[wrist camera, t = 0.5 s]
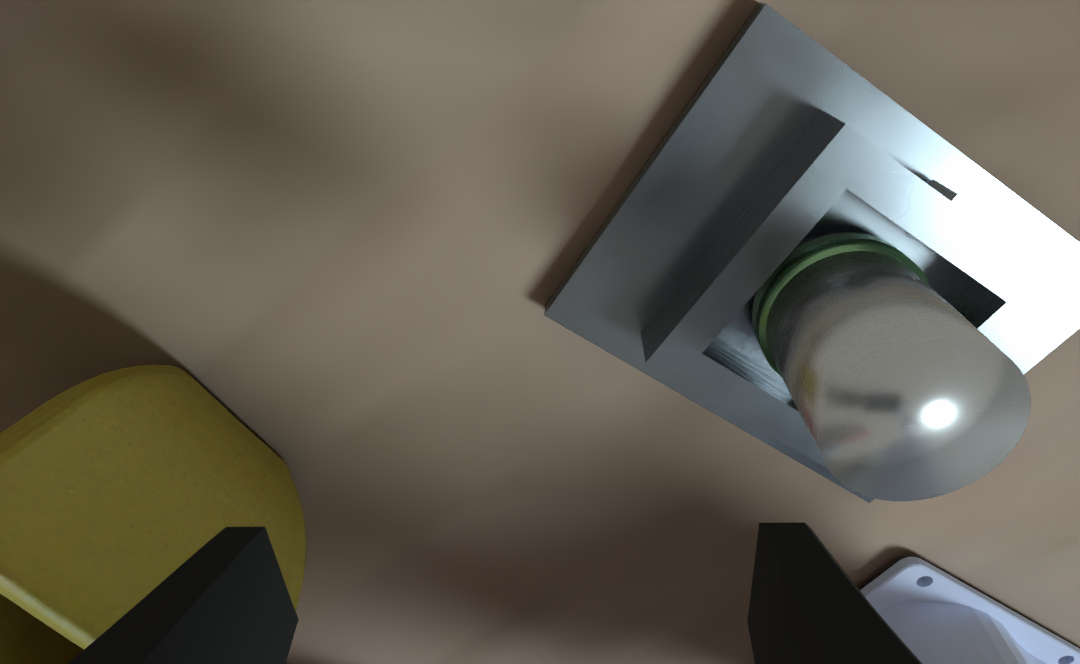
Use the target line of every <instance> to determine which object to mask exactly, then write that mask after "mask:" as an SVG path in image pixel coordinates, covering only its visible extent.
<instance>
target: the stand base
mask: <svg viewBox="0 0 1080 664" xmlns="http://www.w3.org/2000/svg"><path fill="white" fill-rule="evenodd" d="M843 231H846V232H855V233H861V234H868V235H872V236H876V237H878V238H881V239H883V240H886V241H888V242H889V243H891V244H893V245H894V246H896V247H897V248H898V249H899V250H900V251H902V252H903V253H904V254H905V255H906V256H907V257H909V258H910V259H911V260H912V261H913V262H914V263H915V264H916V265H917V266H918V267H919V268H920V269H921V270H922V271H923V273H924V275H925V276H926V278H927V280H928V282H929V285H930V287H931V288H933V289H934V290H935V291H936V292H937V293H938V294H939V295H940V296H941V297H943V298H944V299H945V300H946V301H947V302H948V303H949V304H950V305H951V306H952V307H954V308H955V309H956V310H957V311H958V312H959V313H960V314H961V315H962V316H964V317H965V318H966V319H967V320H968V321H969V322H970V323H971V324H972V325H973V326H975V327H976V328H977V329H978V330H979V331H980V332H981V333H982V334H983V335H985V336H986V337H987V338H988V339H989V340H990V341H991V342H992V343H993V344H995V345H996V346H997V347H998V348H999V349H1000V350H1001V351H1002V352H1003V353H1004V354H1006V355H1007V356H1008V357H1009V358H1010V359H1011V360H1012V361H1013V362H1014V363H1015V364H1016V365H1017V366H1018V367H1019V369H1020V370H1021V371H1022V373H1023V375H1024V374H1025V373H1026V372H1027V371H1028V370H1030V369H1031V368H1032V367H1033V366H1034V365H1036V364H1037V363H1038V362H1039V361H1040V360H1042V359H1043V358H1044V357H1045V356H1046V355H1048V354H1049V353H1050V352H1051V351H1052V350H1054V349H1055V348H1056V347H1057V346H1058V345H1060V344H1061V343H1062V342H1063V341H1064V340H1066V339H1067V338H1068V337H1069V336H1070V335H1072V334H1073V333H1074V332H1075V331H1076V330H1078V329H1079V328H1080V242H1078V241H1077V240H1076V239H1074V238H1073V237H1072V236H1070V235H1069V234H1068V233H1066V232H1065V231H1064V230H1063V229H1061V228H1060V227H1059V226H1057V225H1056V224H1055V223H1053V222H1052V221H1051V220H1049V219H1048V218H1047V217H1045V216H1044V215H1043V214H1042V213H1040V212H1039V211H1038V210H1036V209H1035V208H1034V207H1032V206H1031V205H1030V204H1028V203H1027V202H1026V201H1024V200H1023V199H1022V198H1021V197H1019V196H1018V195H1017V194H1015V193H1014V192H1013V191H1011V190H1010V189H1009V188H1007V187H1006V186H1005V185H1003V184H1002V183H1001V182H999V181H998V180H997V179H996V178H994V177H993V176H992V175H990V174H989V173H988V172H986V171H985V170H984V169H982V168H981V167H980V166H978V165H977V164H976V163H975V162H973V161H972V160H971V159H969V158H968V157H967V156H965V155H964V154H963V153H961V152H960V151H959V150H957V149H956V148H955V147H953V146H952V145H951V144H950V143H948V142H947V141H946V140H944V139H943V138H942V137H940V136H939V135H938V134H936V133H935V132H934V131H932V130H931V129H930V128H929V127H927V126H926V125H925V124H923V123H922V122H921V121H919V120H918V119H917V118H915V117H914V116H913V115H911V114H910V113H909V112H907V111H906V110H905V109H904V108H902V107H901V106H900V105H898V104H897V103H896V102H894V101H893V100H892V99H890V98H889V97H888V96H886V95H885V94H884V93H883V92H881V91H880V90H879V89H877V88H876V87H875V86H873V85H872V84H871V83H869V82H868V81H867V80H865V79H864V78H863V77H861V76H860V75H859V74H858V73H856V72H855V71H854V70H852V69H851V68H850V67H848V66H847V65H846V64H844V63H843V62H842V61H840V60H839V59H838V58H837V57H835V56H834V55H833V54H831V53H830V52H829V51H827V50H826V49H825V48H823V47H822V46H821V45H819V44H818V43H817V42H815V41H814V40H813V39H812V38H810V37H809V36H808V35H806V34H805V33H804V32H802V31H801V30H800V29H798V28H797V27H796V26H794V25H793V24H792V23H791V22H789V21H788V20H787V19H785V18H784V17H783V16H781V15H780V14H779V13H777V12H776V11H775V10H773V9H772V8H771V7H769V6H768V5H767V4H764V3H759V4H758V6H757V7H756V8H755V10H754V11H753V13H752V14H751V15H750V17H749V18H748V20H747V21H746V23H745V24H744V25H743V27H742V28H741V30H740V31H739V32H738V34H737V35H736V37H735V38H734V40H733V41H732V42H731V44H730V45H729V47H728V48H727V49H726V51H725V52H724V54H723V55H722V56H721V58H720V59H719V61H718V62H717V64H716V65H715V66H714V68H713V69H712V71H711V72H710V73H709V75H708V76H707V78H706V79H705V81H704V82H703V83H702V85H701V86H700V88H699V89H698V90H697V92H696V93H695V95H694V96H693V97H692V99H691V100H690V102H689V103H688V105H687V106H686V107H685V109H684V110H683V112H682V113H681V114H680V116H679V117H678V119H677V120H676V122H675V123H674V124H673V126H672V127H671V129H670V130H669V131H668V133H667V134H666V136H665V137H664V138H663V140H662V141H661V143H660V144H659V146H658V147H657V148H656V150H655V151H654V153H653V154H652V155H651V157H650V158H649V160H648V161H647V163H646V164H645V165H644V167H643V168H642V170H641V171H640V172H639V174H638V175H637V177H636V178H635V179H634V181H633V182H632V184H631V185H630V187H629V188H628V189H627V191H626V192H625V194H624V195H623V196H622V198H621V199H620V201H619V202H618V204H617V205H616V206H615V208H614V209H613V211H612V212H611V213H610V215H609V216H608V218H607V219H606V220H605V222H604V223H603V225H602V226H601V228H600V229H599V230H598V232H597V233H596V235H595V236H594V237H593V239H592V240H591V242H590V243H589V245H588V246H587V247H586V249H585V250H584V252H583V253H582V254H581V256H580V257H579V259H578V260H577V262H576V263H575V264H574V266H573V267H572V269H571V270H570V271H569V273H568V274H567V276H566V277H565V278H564V280H563V281H562V283H561V284H560V286H559V287H558V288H557V290H556V291H555V293H554V294H553V295H552V297H551V298H550V300H549V301H548V303H547V304H546V305H545V314H544V315H545V316H547V317H548V318H550V319H552V320H553V321H555V322H557V323H559V324H560V325H562V326H564V327H566V328H567V329H569V330H571V331H573V332H574V333H576V334H578V335H579V336H581V337H583V338H585V339H586V340H588V341H590V342H592V343H593V344H595V345H597V346H599V347H600V348H602V349H604V350H605V351H607V352H609V353H611V354H612V355H614V356H616V357H618V358H619V359H621V360H623V361H625V362H626V363H628V364H630V365H631V366H633V367H635V368H637V369H638V370H640V371H642V372H644V373H645V374H647V375H649V376H650V377H652V378H654V379H656V380H657V381H659V382H661V383H663V384H664V385H666V386H668V387H670V388H671V389H673V390H675V391H676V392H678V393H680V394H682V395H683V396H685V397H687V398H689V399H690V400H692V401H694V402H696V403H697V404H699V405H701V406H702V407H704V408H706V409H708V410H709V411H711V412H713V413H715V414H716V415H718V416H720V417H722V418H723V419H725V420H727V421H728V422H730V423H732V424H734V425H735V426H737V427H739V428H741V429H742V430H744V431H746V432H747V433H749V434H751V435H753V436H754V437H756V438H758V439H760V440H761V441H763V442H765V443H767V444H768V445H770V446H772V447H773V448H775V449H777V450H779V451H780V452H782V453H784V454H786V455H787V456H789V457H791V458H793V459H794V460H796V461H798V462H799V463H801V464H803V465H805V466H806V467H808V468H810V469H812V470H813V471H815V472H817V473H819V474H820V475H822V476H824V477H825V478H827V479H829V480H831V481H832V482H834V483H836V484H838V485H839V486H841V487H843V488H845V489H846V490H848V491H850V492H851V493H853V494H855V495H857V496H858V497H860V498H862V499H864V500H865V501H867V502H869V503H870V502H871V501H872V500H874V499H875V498H871V497H868V496H865V495H862V494H859V493H857V492H855V491H853V490H851V489H849V488H848V487H846V486H845V485H843V484H842V483H840V482H839V481H838V480H837V479H836V478H835V477H834V476H833V475H832V474H831V472H830V471H829V470H828V469H827V467H826V465H825V463H824V461H823V459H822V457H821V455H820V453H819V451H818V449H817V447H816V445H815V443H814V441H813V439H812V437H811V435H810V433H809V431H808V429H807V427H806V425H805V423H804V421H803V419H802V417H801V415H800V413H799V411H798V409H797V407H796V405H795V403H794V401H793V399H792V397H791V395H790V393H789V390H788V388H787V386H786V384H785V382H784V380H783V378H782V377H781V376H780V375H779V374H778V373H777V372H776V371H774V370H773V368H772V367H771V366H770V364H769V363H768V361H767V360H766V358H765V356H764V354H763V352H762V350H761V348H760V345H759V343H758V341H757V339H756V336H755V333H754V330H753V324H752V311H753V304H754V298H755V294H756V291H757V290H758V289H759V288H760V287H761V286H762V285H763V283H764V282H765V281H766V280H767V279H768V278H769V277H770V276H771V274H772V273H773V272H774V271H775V270H776V269H777V268H778V266H779V265H780V264H781V263H782V262H783V261H784V260H785V259H786V257H787V256H788V255H789V254H790V253H791V252H792V251H793V249H794V248H795V247H796V246H797V245H798V244H799V243H800V242H801V241H802V240H804V239H807V238H810V237H812V236H815V235H819V234H823V233H829V232H843Z"/></svg>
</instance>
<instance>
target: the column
mask: <svg viewBox="0 0 1080 664" xmlns="http://www.w3.org/2000/svg"><path fill="white" fill-rule="evenodd" d="M752 324H753V330H754V333H755V336H756V339H757V341H758V343H759V345H760V348H761V350H762V352H763V354H764V356H765V358H766V360H767V361H768V363H769V364H770V366H771V367H772V368H773V370H774V371H776V372H777V373H778V374H779V375H780V376H781V377H782V378H783V380H784V382H785V384H786V386H787V388H788V390H789V393H790V395H791V397H792V399H793V401H794V403H795V405H796V407H797V409H798V411H799V413H800V415H801V417H802V419H803V421H804V423H805V425H806V427H807V429H808V431H809V433H810V435H811V437H812V439H813V441H814V443H815V445H816V447H817V449H818V451H819V453H820V455H821V457H822V459H823V461H824V463H825V465H826V467H827V469H828V470H829V471H830V472H831V474H832V475H833V476H834V477H835V478H836V479H837V480H838V481H839V482H840V483H842V484H843V485H845V486H846V487H848V488H849V489H851V490H853V491H855V492H857V493H859V494H862V495H865V496H868V497H871V498H876V499H881V500H889V501H913V500H922V499H928V498H933V497H937V496H940V495H944V494H947V493H950V492H953V491H955V490H958V489H960V488H962V487H964V486H967V485H969V484H971V483H972V482H974V481H976V480H978V479H979V478H981V477H982V476H984V475H985V474H987V473H988V472H990V471H991V470H992V469H994V468H995V467H996V466H997V465H998V464H999V463H1000V462H1002V461H1003V460H1004V459H1005V457H1006V456H1007V455H1008V454H1009V453H1010V452H1011V451H1012V449H1013V448H1014V447H1015V445H1016V444H1017V443H1018V441H1019V439H1020V438H1021V436H1022V434H1023V432H1024V430H1025V427H1026V425H1027V422H1028V419H1029V414H1030V408H1031V396H1030V389H1029V386H1028V383H1027V380H1026V378H1025V376H1024V375H1023V373H1022V371H1021V370H1020V369H1019V367H1018V366H1017V365H1016V364H1015V363H1014V362H1013V361H1012V360H1011V359H1010V358H1009V357H1008V356H1007V355H1006V354H1004V353H1003V352H1002V351H1001V350H1000V349H999V348H998V347H997V346H996V345H995V344H993V343H992V342H991V341H990V340H989V339H988V338H987V337H986V336H985V335H983V334H982V333H981V332H980V331H979V330H978V329H977V328H976V327H975V326H973V325H972V324H971V323H970V322H969V321H968V320H967V319H966V318H965V317H964V316H962V315H961V314H960V313H959V312H958V311H957V310H956V309H955V308H954V307H952V306H951V305H950V304H949V303H948V302H947V301H946V300H945V299H944V298H943V297H941V296H940V295H939V294H938V293H937V292H936V291H935V290H934V289H933V288H931V287H930V285H929V282H928V280H927V278H926V276H925V275H924V273H923V271H922V270H921V269H920V268H919V267H918V266H917V265H916V264H915V263H914V262H913V261H912V260H911V259H910V258H909V257H907V256H906V255H905V254H904V253H903V252H902V251H900V250H899V249H898V248H897V247H896V246H894V245H893V244H891V243H889V242H888V241H886V240H883V239H881V238H878V237H876V236H872V235H868V234H861V233H855V232H846V231H843V232H829V233H823V234H819V235H815V236H812V237H810V238H807V239H804V240H802V241H801V242H800V243H799V244H798V245H797V246H796V247H795V248H794V249H793V251H792V252H791V253H790V254H789V255H788V256H787V257H786V259H785V260H784V261H783V262H782V263H781V264H780V265H779V266H778V268H777V269H776V270H775V271H774V272H773V273H772V274H771V276H770V277H769V278H768V279H767V280H766V281H765V282H764V283H763V285H762V286H761V287H760V288H759V289H758V290H757V291H756V294H755V298H754V304H753V311H752Z"/></svg>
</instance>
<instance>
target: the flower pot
mask: <svg viewBox="0 0 1080 664" xmlns="http://www.w3.org/2000/svg"><path fill="white" fill-rule="evenodd" d="M263 526H265V528H266V531H267V533H268V536H269V539H270V542H271V545H272V547H273V550H274V553H275V556H276V559H277V561H278V564H279V567H280V570H281V573H282V575H283V578H284V581H285V584H286V587H287V589H288V592H289V595H290V598H291V601H292V603H293V606H294V609H295V612H296V609H297V605H298V601H299V596H300V592H301V587H302V583H303V577H304V569H305V558H306V532H305V522H304V516H303V510H302V506H301V502H300V498H299V495H298V492H297V489H296V486H295V483H294V481H293V479H292V476H291V473H290V471H289V468H288V467H287V465H286V463H285V462H284V461H283V460H282V459H281V458H280V457H279V456H278V455H277V454H275V453H274V452H273V451H272V450H271V449H270V448H269V447H268V446H267V445H265V444H264V443H263V442H262V441H261V440H260V439H259V438H257V437H256V436H255V435H254V434H253V433H252V432H251V431H250V430H249V429H248V428H246V427H245V426H244V425H243V424H242V423H241V422H240V421H239V420H237V419H236V418H235V417H234V416H233V415H232V414H231V413H230V412H229V411H228V410H227V409H226V408H225V407H224V406H223V405H222V404H221V403H219V402H218V401H217V400H216V399H215V398H214V397H213V396H212V395H211V394H209V393H208V392H207V391H206V390H205V389H204V388H203V387H202V386H201V385H200V384H199V383H198V382H197V381H196V380H195V379H193V378H192V377H191V376H190V375H189V374H188V373H186V372H185V371H184V370H182V369H181V368H179V367H176V366H172V365H140V366H133V367H127V368H121V369H117V370H114V371H110V372H107V373H104V374H101V375H98V376H96V377H93V378H91V379H88V380H86V381H83V382H81V383H79V384H77V385H75V386H73V387H71V388H69V389H67V390H65V391H64V392H62V393H60V394H58V395H57V396H55V397H53V398H52V399H50V400H48V401H47V402H45V403H44V404H42V405H41V406H39V407H38V408H36V409H35V410H33V411H32V412H31V413H29V414H28V415H26V416H25V417H23V418H22V419H20V420H19V421H17V422H16V423H14V424H13V425H11V426H10V427H9V428H7V429H6V430H4V431H3V432H1V433H0V664H67V663H68V662H70V661H71V660H72V659H73V658H75V657H76V656H77V655H78V654H79V653H81V652H82V651H83V650H84V649H85V648H87V647H88V646H89V645H90V644H91V643H92V642H94V641H95V640H96V639H97V638H98V637H99V636H101V635H102V634H103V633H104V632H105V631H106V630H107V629H109V628H110V627H111V626H112V625H113V624H114V623H116V622H117V621H118V620H119V619H120V618H121V617H122V616H124V615H125V614H126V613H127V612H128V611H129V610H131V609H132V608H133V607H134V606H135V605H136V604H137V603H139V602H140V601H141V600H142V599H143V598H144V597H146V596H147V595H148V594H149V593H150V592H151V591H152V590H153V589H155V588H156V587H157V586H158V585H159V584H160V583H161V582H163V581H164V580H165V579H166V578H167V577H168V576H169V575H171V574H172V573H173V572H174V571H175V570H176V569H177V568H178V567H180V566H181V565H182V564H183V563H184V562H185V561H186V560H188V559H189V558H190V557H191V556H192V555H193V554H194V553H196V552H197V551H198V550H199V549H200V548H201V547H203V546H204V545H205V544H206V543H207V542H208V541H210V540H211V539H212V538H213V537H214V536H216V535H217V534H218V533H219V532H220V531H222V530H223V529H224V528H225V527H263Z"/></svg>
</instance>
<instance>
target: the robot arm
mask: <svg viewBox="0 0 1080 664" xmlns="http://www.w3.org/2000/svg"><path fill="white" fill-rule="evenodd" d="M297 622H298V617H297V615H296V612H295V609H294V606H293V603H292V601H291V598H290V595H289V592H288V589H287V587H286V584H285V581H284V578H283V575H282V573H281V570H280V567H279V564H278V561H277V559H276V556H275V553H274V550H273V547H272V545H271V542H270V539H269V536H268V533H267V531H266V528H265V526H263V527H225V528H224V529H223V530H222V531H220V532H219V533H218V534H217V535H216V536H214V537H213V538H212V539H211V540H210V541H208V542H207V543H206V544H205V545H204V546H203V547H201V548H200V549H199V550H198V551H197V552H196V553H194V554H193V555H192V556H191V557H190V558H189V559H188V560H186V561H185V562H184V563H183V564H182V565H181V566H180V567H178V568H177V569H176V570H175V571H174V572H173V573H172V574H171V575H169V576H168V577H167V578H166V579H165V580H164V581H163V582H161V583H160V584H159V585H158V586H157V587H156V588H155V589H153V590H152V591H151V592H150V593H149V594H148V595H147V596H146V597H144V598H143V599H142V600H141V601H140V602H139V603H137V604H136V605H135V606H134V607H133V608H132V609H131V610H129V611H128V612H127V613H126V614H125V615H124V616H122V617H121V618H120V619H119V620H118V621H117V622H116V623H114V624H113V625H112V626H111V627H110V628H109V629H107V630H106V631H105V632H104V633H103V634H102V635H101V636H99V637H98V638H97V639H96V640H95V641H94V642H92V643H91V644H90V645H89V646H88V647H87V648H85V649H84V650H83V651H82V652H81V653H79V654H78V655H77V656H76V657H75V658H73V659H72V660H71V661H70V662H68V663H67V664H285V663H286V660H287V657H288V653H289V650H290V646H291V643H292V639H293V636H294V632H295V629H296V625H297ZM748 627H749V632H750V638H751V643H752V649H753V654H754V660H755V664H1080V648H1078V647H1076V646H1074V645H1072V644H1071V643H1069V642H1067V641H1065V640H1064V639H1062V638H1060V637H1058V636H1057V635H1055V634H1053V633H1051V632H1049V631H1048V630H1046V629H1044V628H1042V627H1041V626H1039V625H1037V624H1035V623H1034V622H1032V621H1030V620H1028V619H1026V618H1025V617H1023V616H1021V615H1019V614H1018V613H1016V612H1014V611H1012V610H1011V609H1009V608H1007V607H1005V606H1003V605H1002V604H1000V603H998V602H996V601H995V600H993V599H991V598H989V597H988V596H986V595H984V594H982V593H981V592H979V591H977V590H975V589H973V588H972V587H970V586H968V585H966V584H965V583H963V582H961V581H959V580H958V579H956V578H954V577H952V576H950V575H949V574H947V573H945V572H943V571H942V570H940V569H938V568H936V567H935V566H933V565H931V564H929V563H927V562H926V561H924V560H922V559H920V558H917V557H906V558H903V559H901V560H899V561H898V562H897V563H895V564H894V565H893V566H891V567H890V568H889V569H887V570H886V571H885V572H883V573H882V574H881V575H880V576H878V577H877V578H876V579H874V580H873V581H872V582H870V583H869V584H868V585H866V586H865V587H864V588H862V589H861V590H859V589H858V588H857V587H856V585H855V584H854V583H853V582H852V580H851V579H850V578H849V577H848V575H847V574H846V573H845V572H844V570H843V569H842V568H841V567H840V565H839V564H838V563H837V562H836V560H835V559H834V558H833V556H832V555H831V554H830V553H829V551H828V550H827V549H826V547H825V546H824V545H823V544H822V542H821V541H820V540H819V538H818V537H817V536H816V534H815V533H814V532H813V531H812V529H811V528H810V527H809V526H808V525H806V524H805V523H759V531H758V539H757V548H756V556H755V564H754V573H753V581H752V589H751V597H750V606H749V614H748Z"/></svg>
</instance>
